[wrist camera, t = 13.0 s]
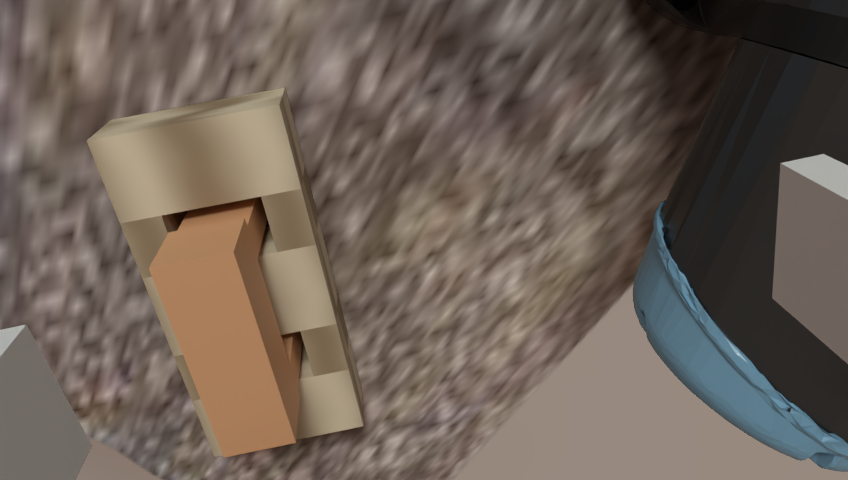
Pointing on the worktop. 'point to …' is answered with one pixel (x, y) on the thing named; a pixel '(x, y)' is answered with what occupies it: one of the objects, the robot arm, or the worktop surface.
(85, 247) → the worktop surface
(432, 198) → the worktop surface
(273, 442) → the orange-brown block
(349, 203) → the worktop surface
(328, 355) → the beige flat slotted piece
